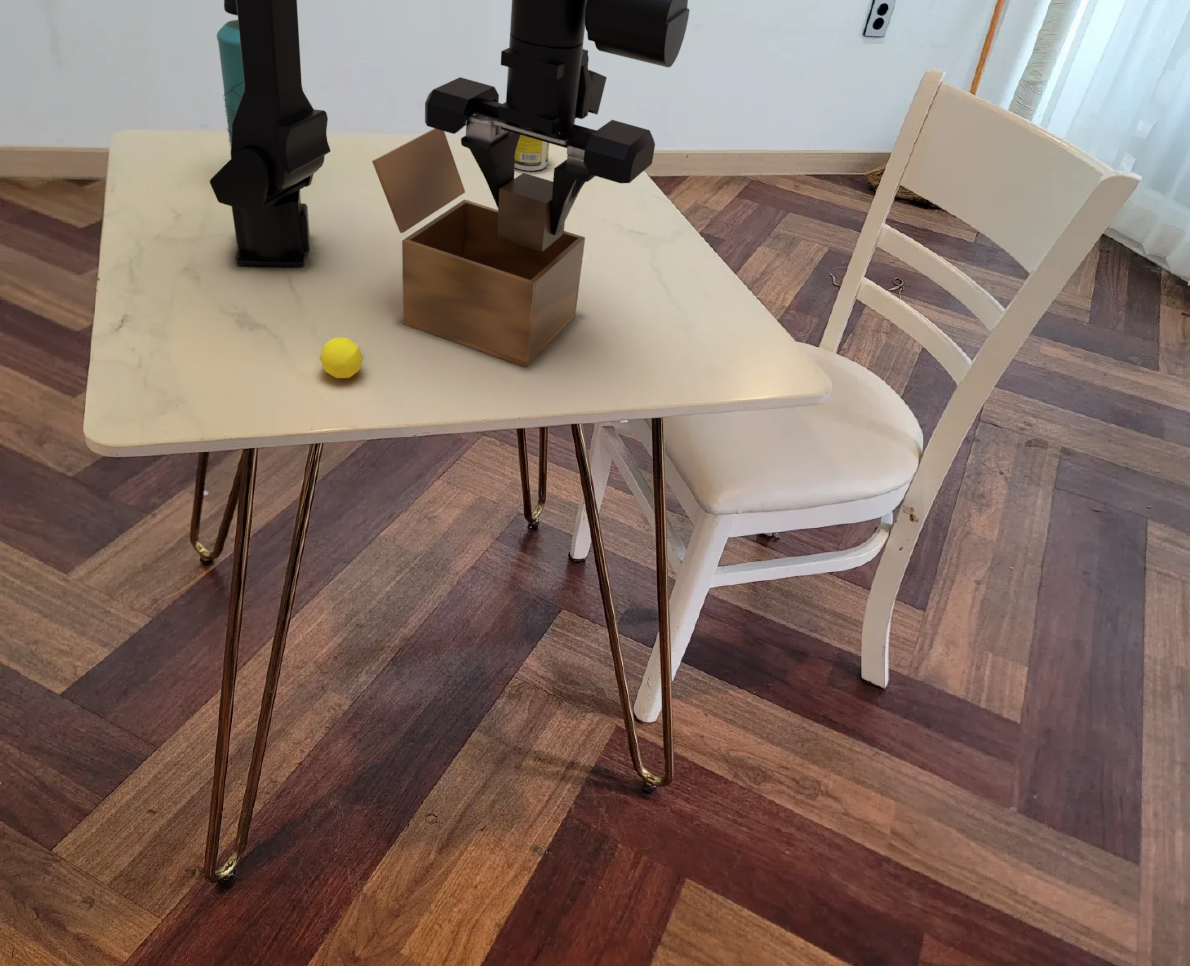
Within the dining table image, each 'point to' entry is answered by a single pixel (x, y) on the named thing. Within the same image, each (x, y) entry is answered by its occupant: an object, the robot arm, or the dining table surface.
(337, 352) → the yellow lemon
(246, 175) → the robot arm
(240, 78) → the beverage bottle
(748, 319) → the dining table surface
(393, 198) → the flap
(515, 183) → the block
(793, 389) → the dining table surface
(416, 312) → the brown wooden open box
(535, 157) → the supplement bottle
